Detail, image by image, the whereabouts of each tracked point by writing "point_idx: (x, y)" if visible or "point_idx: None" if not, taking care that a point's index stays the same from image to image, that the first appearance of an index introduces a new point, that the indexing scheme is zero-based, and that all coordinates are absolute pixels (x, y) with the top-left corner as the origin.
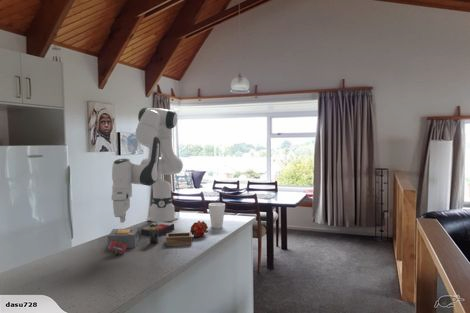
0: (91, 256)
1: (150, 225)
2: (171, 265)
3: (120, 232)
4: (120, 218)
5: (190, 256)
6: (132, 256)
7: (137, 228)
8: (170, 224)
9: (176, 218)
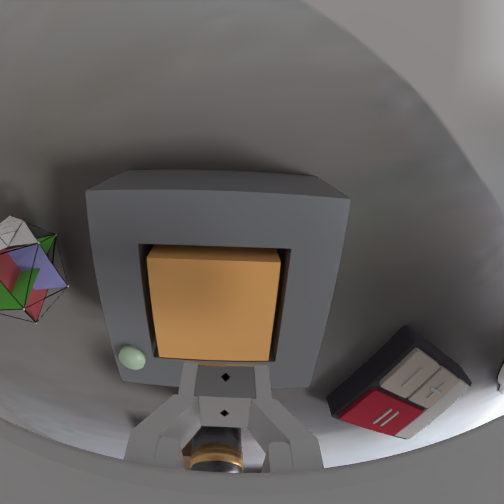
0: (16, 115)
1: (196, 470)
2: (6, 400)
3: (159, 296)
4: (169, 402)
5: (74, 445)
6: (27, 316)
7: (300, 384)
8: (400, 436)
9: (500, 392)
